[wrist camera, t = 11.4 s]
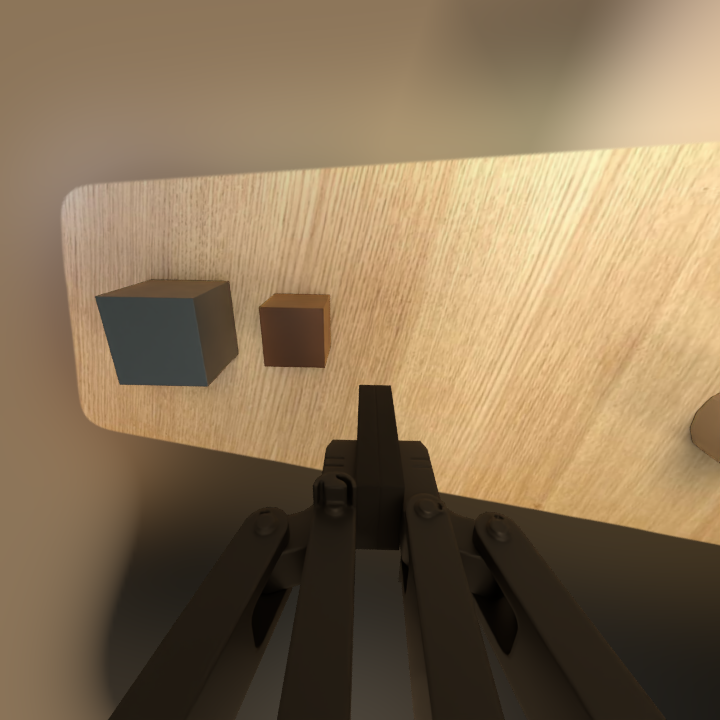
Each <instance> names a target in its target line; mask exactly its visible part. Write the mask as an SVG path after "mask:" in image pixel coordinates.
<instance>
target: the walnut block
mask: <svg viewBox="0 0 720 720" xmlns="http://www.w3.org/2000/svg"><path fill="white" fill-rule="evenodd" d="M259 313H260V324H261V334H262V344H263V354H264V365H265V366H273V367H316V368H325V366H326V362H327V358H328V355H329V351H330V347H331V329H330V295H317V294H274V295H273V296H272V297H270V298H269V299H268V300H267V301H266V302H265V303H263V304H262V305H261V306H260V307H259Z"/></svg>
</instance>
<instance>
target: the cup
mask: <svg viewBox="0 0 720 720" xmlns="http://www.w3.org/2000/svg"><path fill="white" fill-rule="evenodd" d="M690 430H691V436H692V442H693V443H694V444H696V445H697V446H698V447H699V448H700V449H701V450H702V451H704V452H705V453H706V454H708V455H709V456H711V457H712V458H713V459H715V460H716V461H718V462H719V463H720V393H719V394H717V395H715V396H713V397H711V398H710V399H709V400H708V401H707V402H706V403H705V404H704V405H703V406H702V407H701V408H700V409H699V410H698V412H697V413H696V415H695V418H694V420H693V422H692V425H691V427H690Z"/></svg>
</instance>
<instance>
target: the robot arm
mask: <svg viewBox="0 0 720 720" xmlns="http://www.w3.org/2000/svg"><path fill="white" fill-rule="evenodd" d="M313 498H314V504H313V505H312V506H310V507H309V508H307V509H306V510H304V511H301V512H298V513H295V514H291V515H286V513H285V512H284V511H283V510H281V509H278V508H276V507H266V508H262V509H259V510H257V511H255V512H253V513H252V514H251V515H250V516H249V517H248V518H247V519H246V520H245V522H244V523H243V524H242V526H241V527H240V529H239V530H238V532H237V533H236V535H235V536H234V538H233V539H232V540H231V542H230V544H229V545H228V546H227V548H226V549H225V551H224V552H223V554H222V555H221V556H220V558H219V559H218V561H217V562H216V564H215V565H214V567H213V568H212V569H211V571H210V573H209V574H208V575H207V577H206V578H205V580H204V581H203V583H202V584H201V586H200V587H199V588H198V590H197V591H196V593H195V594H194V596H193V597H192V599H191V600H190V602H189V603H188V605H187V606H186V607H185V609H184V610H183V612H182V613H181V615H180V616H179V618H178V619H177V620H176V622H175V623H174V625H173V626H172V628H171V629H170V631H169V632H168V634H167V635H166V636H165V638H164V639H163V641H162V642H161V644H160V645H159V647H158V648H157V650H156V651H155V652H154V654H153V656H152V657H151V658H150V660H149V661H148V663H147V664H146V666H145V667H144V668H143V670H142V671H141V673H140V674H139V676H138V678H137V679H136V680H135V682H134V683H133V684H132V686H131V687H130V689H129V690H128V692H127V693H126V695H125V696H124V698H123V699H122V700H121V702H120V703H119V705H118V706H117V708H116V710H115V711H114V712H113V714H112V715H111V717H110V718H109V719H108V720H235V718H236V716H237V714H238V711H239V709H240V707H241V705H242V702H243V700H244V698H245V695H246V693H247V691H248V689H249V686H250V684H251V681H252V679H253V677H254V675H255V673H256V670H257V668H258V666H259V664H260V661H261V659H262V657H263V654H264V652H265V650H266V648H267V645H268V643H269V641H270V638H271V636H272V634H273V631H274V629H275V627H276V625H277V622H278V620H279V618H280V616H281V613H282V611H283V609H284V606H285V604H286V602H287V600H288V597H289V595H290V593H291V591H292V587H293V586H297V585H300V590H299V596H298V601H297V607H296V613H295V618H294V624H293V630H292V636H291V642H290V647H289V653H288V659H287V665H286V671H285V676H284V682H283V688H282V694H281V700H280V706H279V711H278V717H277V720H351V691H352V653H353V618H354V584H355V581H354V580H355V549H377V550H399V547H400V549H401V561H400V571H399V582H402V593H403V604H404V615H405V626H406V637H407V647H408V658H409V669H410V680H411V691H412V701H413V712H414V720H505V719H504V715H503V712H502V708H501V704H500V701H499V697H498V693H497V689H496V686H495V682H494V678H493V675H492V671H491V668H490V664H489V660H488V656H487V652H486V649H485V645H484V641H483V637H482V634H481V630H480V626H479V623H480V625H481V627H482V629H483V631H484V633H485V635H486V637H487V639H488V641H489V643H490V645H491V647H492V649H493V651H494V653H495V655H496V657H497V659H498V661H499V663H500V665H501V667H502V669H503V671H504V673H505V675H506V677H507V679H508V681H509V684H510V685H511V687H512V690H513V692H514V694H515V696H516V698H517V700H518V702H519V704H520V706H521V708H522V710H523V712H524V714H525V716H526V718H527V720H666V719H665V717H664V716H663V715H662V713H661V712H660V711H659V709H658V708H657V707H656V705H655V704H654V703H653V701H652V700H651V699H650V698H649V696H648V695H647V694H646V693H645V691H644V690H643V688H642V687H641V686H640V685H639V683H638V682H637V681H636V679H635V678H634V677H633V675H632V674H631V673H630V671H629V670H628V669H627V668H626V666H625V665H624V664H623V662H622V661H621V660H620V658H619V657H618V656H617V655H616V653H615V652H614V651H613V649H612V648H611V647H610V645H609V644H608V643H607V641H606V640H605V639H604V637H603V636H602V635H601V634H600V632H599V631H598V630H597V628H596V627H595V626H594V624H593V623H592V622H591V620H590V619H589V618H588V617H587V615H586V614H585V613H584V611H583V610H582V609H581V607H580V606H579V605H578V603H577V602H576V601H575V600H574V598H573V597H572V596H571V594H570V593H569V592H568V591H567V589H566V588H565V586H564V585H563V584H562V583H561V581H560V580H559V579H558V577H557V576H556V575H555V573H554V572H553V571H552V569H551V568H550V567H549V566H548V564H547V563H546V562H545V560H544V559H543V558H542V556H541V555H540V554H539V552H538V551H537V550H536V549H535V547H534V546H533V544H532V543H531V542H530V541H529V539H528V538H527V537H526V535H525V534H524V533H523V532H522V530H521V529H520V528H519V526H518V525H517V524H516V523H515V522H514V521H513V520H511V519H510V518H508V517H506V516H505V515H503V514H499V513H496V512H485V513H483V514H480V515H479V516H478V517H477V519H476V520H474V519H470V518H467V517H463V516H461V515H458V514H456V513H454V512H452V511H450V510H449V509H448V508H447V507H446V505H445V503H444V502H443V501H442V500H441V499H440V496H439V493H438V489H437V485H436V481H435V477H434V473H433V469H432V465H431V461H430V457H429V453H428V450H427V448H426V447H425V446H424V445H423V444H422V443H421V441H398V434H397V426H396V419H395V412H394V405H393V398H392V391H391V386H385V385H359V406H358V431H357V440H332V441H331V443H330V444H329V445H328V446H327V448H326V453H325V459H324V466H323V471H322V475H321V476H320V477H318V478H317V479H316V480H315V482H314V485H313ZM478 620H479V623H478Z"/></svg>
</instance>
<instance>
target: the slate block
mask: <svg viewBox="0 0 720 720" xmlns="http://www.w3.org/2000/svg"><path fill="white" fill-rule="evenodd" d="M95 298H96V302H97V305H98V309H99V312H100V316H101V320H102V323H103V327H104V330H105V334H106V337H107V341H108V345H109V348H110V352H111V355H112V359H113V362H114V366H115V369H116V373H117V377H118V380H119V384H120V385H162V386H206V387H208V386H209V385H210V384H211V383H212V382H213V381H214V379H215V378H216V377H217V376H218V375H219V374H220V373H221V372H222V371H223V370H224V369H225V368H226V366H227V365H228V364H229V363H230V362H231V361H232V360H233V359H234V358H235V357H236V356H237V355H238V347H237V339H236V331H235V324H234V316H233V308H232V300H231V293H230V285H229V281H206V280H155V279H151V280H148V281H145V282H141V283H138V284H135V285H131V286H128V287H125V288H121V289H118V290H115V291H111V292H108V293H105V294H101V295H98V296H95Z"/></svg>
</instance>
